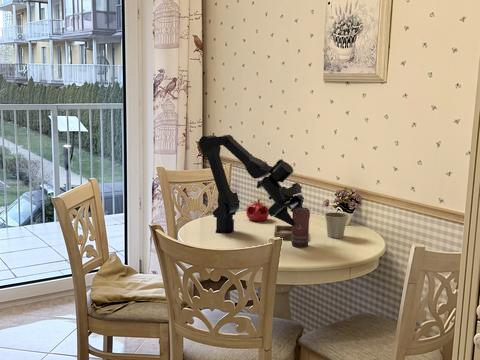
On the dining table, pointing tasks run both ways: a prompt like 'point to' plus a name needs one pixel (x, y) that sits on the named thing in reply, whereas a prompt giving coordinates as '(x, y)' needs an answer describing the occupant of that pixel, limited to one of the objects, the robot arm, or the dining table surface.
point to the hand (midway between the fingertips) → (300, 222)
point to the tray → (283, 232)
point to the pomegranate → (257, 211)
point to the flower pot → (335, 224)
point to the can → (300, 227)
